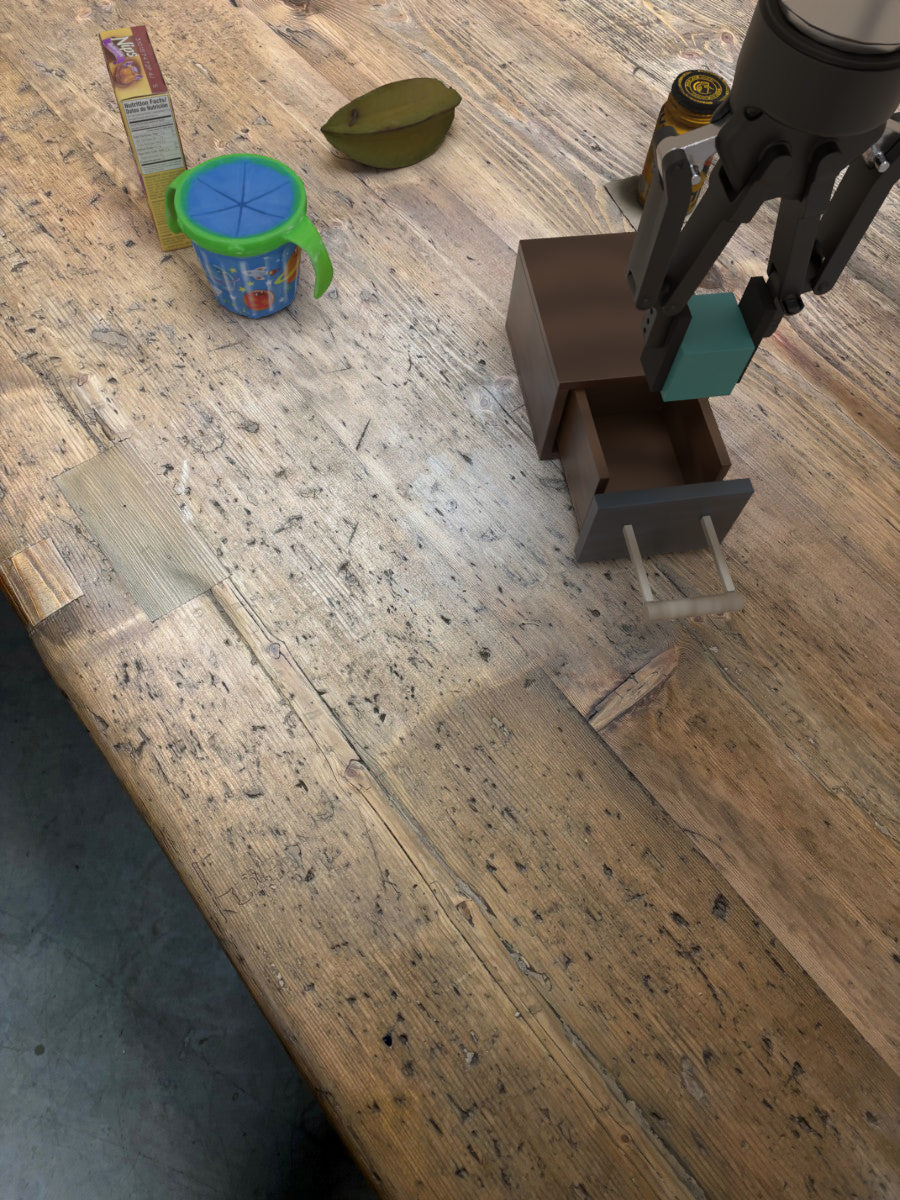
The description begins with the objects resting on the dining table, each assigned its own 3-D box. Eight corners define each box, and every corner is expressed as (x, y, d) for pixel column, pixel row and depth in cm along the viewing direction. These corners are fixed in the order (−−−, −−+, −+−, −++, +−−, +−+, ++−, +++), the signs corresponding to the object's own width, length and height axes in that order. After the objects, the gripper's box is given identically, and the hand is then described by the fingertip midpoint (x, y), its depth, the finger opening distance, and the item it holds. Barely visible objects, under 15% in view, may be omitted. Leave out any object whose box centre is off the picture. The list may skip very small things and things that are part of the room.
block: (730, 395, 60) (755, 347, 56) (663, 402, 59) (684, 354, 55) (710, 341, 62) (733, 291, 58) (645, 347, 61) (663, 297, 57)
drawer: (749, 635, 70) (790, 586, 63) (600, 654, 68) (625, 606, 61) (672, 409, 79) (700, 345, 72) (540, 422, 78) (555, 358, 71)
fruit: (440, 196, 91) (444, 135, 85) (320, 172, 91) (316, 110, 85) (463, 122, 96) (468, 59, 90) (349, 100, 96) (347, 36, 90)
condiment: (712, 214, 92) (755, 101, 81) (638, 235, 90) (673, 122, 79) (675, 167, 95) (712, 52, 84) (602, 186, 93) (631, 70, 82)
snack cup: (149, 283, 83) (121, 187, 74) (228, 219, 87) (210, 120, 78) (285, 368, 80) (273, 277, 71) (361, 296, 84) (358, 203, 75)
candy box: (139, 189, 88) (95, 28, 75) (184, 181, 89) (149, 21, 76) (159, 254, 85) (116, 98, 71) (206, 245, 86) (173, 89, 72)
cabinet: (686, 445, 79) (723, 368, 70) (539, 461, 77) (559, 383, 68) (641, 315, 85) (670, 228, 77) (504, 326, 84) (519, 239, 75)
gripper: (1002, -56, 42) (797, 316, 63) (630, -45, 40) (545, 338, 60) (1079, 48, 39) (835, 404, 60) (678, 67, 36) (571, 431, 57)
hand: (689, 370), depth 60 cm, fingers closed on block, 4 cm apart
